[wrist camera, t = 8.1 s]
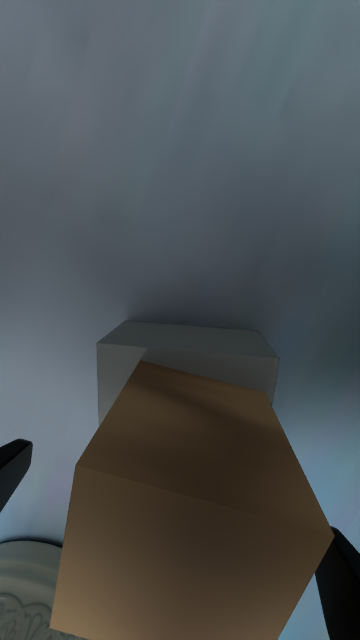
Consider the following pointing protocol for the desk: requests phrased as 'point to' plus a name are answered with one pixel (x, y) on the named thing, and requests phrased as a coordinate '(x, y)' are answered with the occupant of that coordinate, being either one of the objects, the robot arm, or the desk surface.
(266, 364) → the base block
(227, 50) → the desk surface
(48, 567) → the jar
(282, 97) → the desk surface
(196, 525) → the walnut cube
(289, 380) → the desk surface
